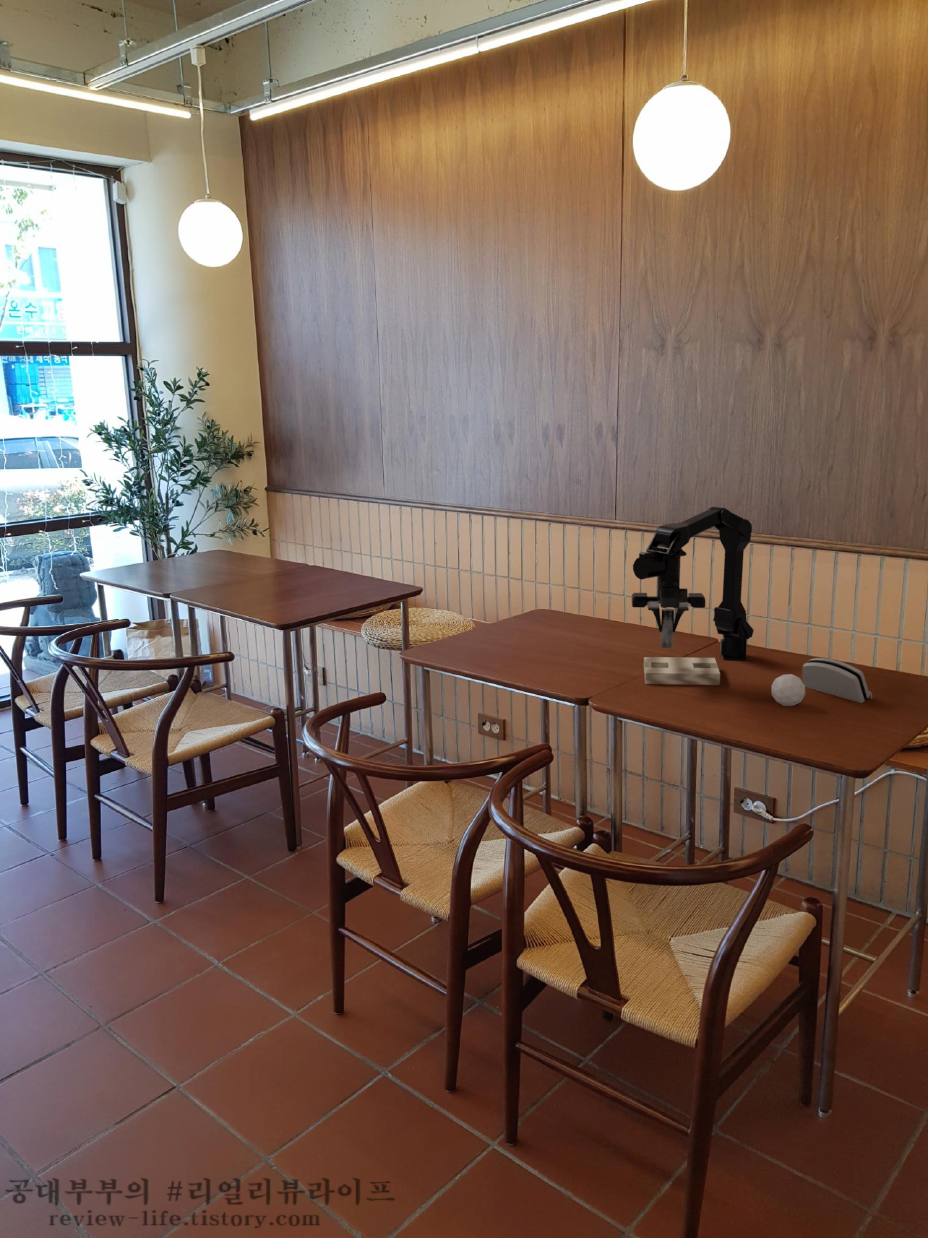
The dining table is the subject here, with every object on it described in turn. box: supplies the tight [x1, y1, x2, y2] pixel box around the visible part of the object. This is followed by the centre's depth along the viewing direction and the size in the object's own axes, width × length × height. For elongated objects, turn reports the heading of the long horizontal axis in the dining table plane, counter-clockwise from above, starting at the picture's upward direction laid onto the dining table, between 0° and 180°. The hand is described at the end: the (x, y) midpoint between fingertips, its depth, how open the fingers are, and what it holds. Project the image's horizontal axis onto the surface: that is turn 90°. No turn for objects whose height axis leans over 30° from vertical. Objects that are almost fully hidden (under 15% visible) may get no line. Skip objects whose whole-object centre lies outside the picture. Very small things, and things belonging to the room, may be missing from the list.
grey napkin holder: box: [801, 657, 873, 704], centre depth 233 cm, size 17×5×10 cm, turn 35°
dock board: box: [643, 656, 721, 686], centre depth 251 cm, size 19×14×3 cm
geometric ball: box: [770, 673, 806, 707], centre depth 226 cm, size 8×8×8 cm
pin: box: [660, 608, 675, 649], centre depth 248 cm, size 3×3×10 cm
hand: (667, 631), depth 248 cm, fingers closed on pin, 3 cm apart
